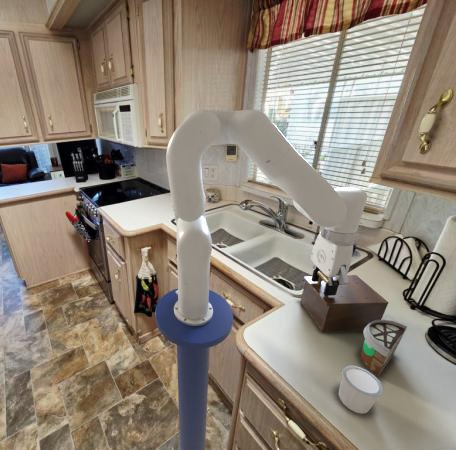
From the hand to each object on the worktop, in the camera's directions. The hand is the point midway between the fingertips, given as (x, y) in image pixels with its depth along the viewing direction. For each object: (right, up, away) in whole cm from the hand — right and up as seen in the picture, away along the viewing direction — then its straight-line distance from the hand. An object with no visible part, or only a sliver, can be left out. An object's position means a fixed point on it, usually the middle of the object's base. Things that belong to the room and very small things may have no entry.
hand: (322, 287), depth 74 cm
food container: (+6, -16, -9) cm, 20 cm away
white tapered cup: (-5, -21, -18) cm, 28 cm away
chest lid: (+6, -1, 0) cm, 6 cm away
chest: (+7, -10, +4) cm, 13 cm away
